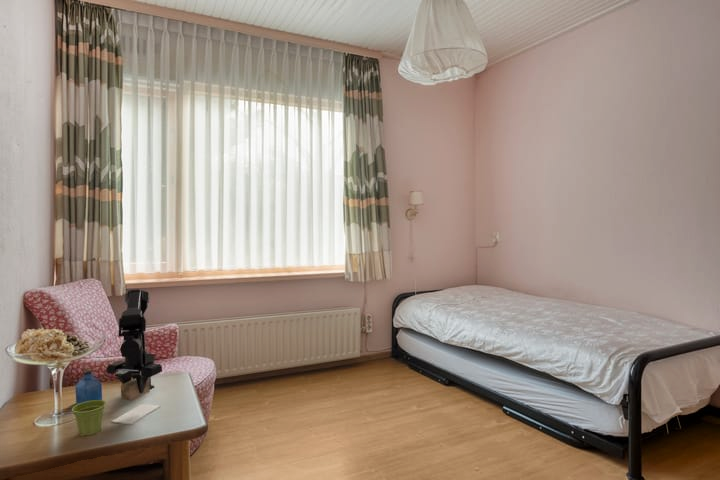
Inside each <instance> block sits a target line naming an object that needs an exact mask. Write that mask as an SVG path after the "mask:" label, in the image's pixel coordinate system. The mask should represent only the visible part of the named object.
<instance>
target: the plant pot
mask: <svg viewBox="0 0 720 480" xmlns="http://www.w3.org/2000/svg"><path fill="white" fill-rule="evenodd" d="M106 403H107V402H106V401H105V400H103V399H102V400H92V401H87V402H83V403H80V404H78V403H77V404H76V405H74V406H73V407H72V408H71V412H72V413H73V415H74V417H75V422H76V426H77V431H78V435H80V436H92V435H96V434H97V433H99V432H100V430H102V423H103V413H104V410H105V405H106Z"/></svg>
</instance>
